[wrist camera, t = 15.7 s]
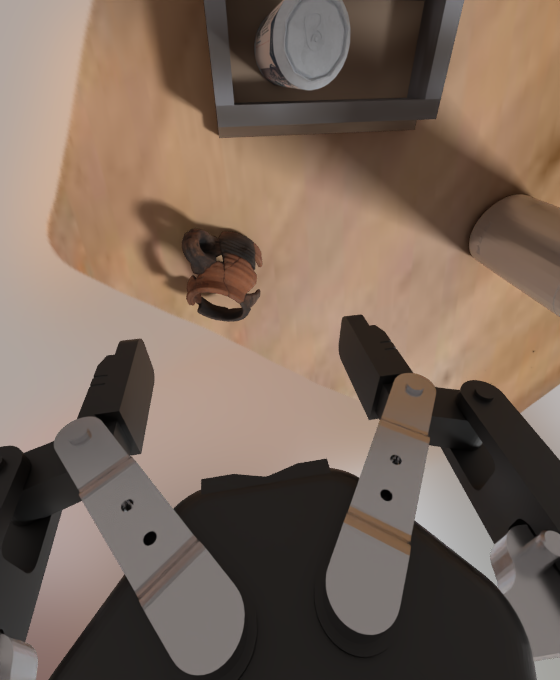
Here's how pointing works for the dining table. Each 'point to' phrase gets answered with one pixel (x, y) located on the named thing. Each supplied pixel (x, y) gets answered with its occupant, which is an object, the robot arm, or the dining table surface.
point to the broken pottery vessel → (221, 272)
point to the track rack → (350, 83)
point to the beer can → (303, 43)
